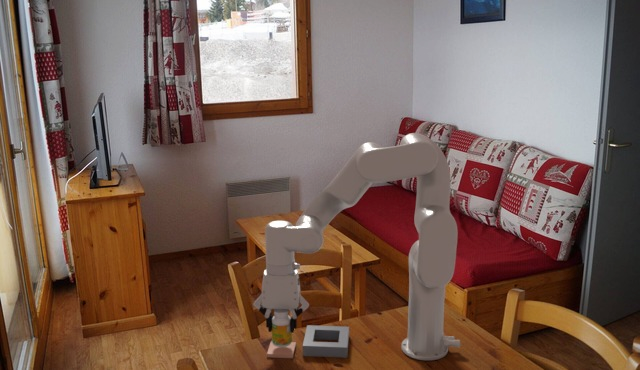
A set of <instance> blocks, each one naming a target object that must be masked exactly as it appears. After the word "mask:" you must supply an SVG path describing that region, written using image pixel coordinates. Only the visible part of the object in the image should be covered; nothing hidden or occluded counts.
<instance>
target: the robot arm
mask: <svg viewBox="0 0 640 370" xmlns="http://www.w3.org/2000/svg"><path fill="white" fill-rule="evenodd" d="M412 178H416V198H415V210H414V219H413V220H414V221H413V222H414V226H415V228H416V231H417V233H418V239H417V240H416V241H415V242H414V243H413V244H412V245H411V248H410V250H409V253H408V274H409V275H408V279H409V280H408V281H409V283H408V287H409V288H408V308H407V309H408V311H407V312H408V313H407V337H406V338H404V339H403V340H402V342H401V351H402V352H403V353H404V354H405V355H406V356H408V357H409V358H411V359H415V360H419V361H435V360H441V359H442V358H444V357H446V356H447V354H448V352H449V347H453V348H460V347H461V341H460V339H455V336H452V335H451V336H450V335H448V336H447V335H446V334H445V333H444V315H445V314H444V313H445V299H446V286H447V285H448V284H449V283H450V282H451V281H452V278H453V277H454V274H455V268H456V258H457V246H458V235H459V233H458V224H457V221H456V219H455V217H454V216H453V214H452V213H451V210H450V202H451V171H450V166H449V163H448V160H447V158H446V156H445V153H444V152H443V151H442V149H441V148H440V147H439V145H438V144H437V143H436V142H435V141H433V140H432V139H431V138H429V137H428V136H426V135H424V134H422V133H419V132H412V133H408V134H406V135H405V136H404V137H402V139H401V140H400V142H399V145H394V146H388V147H383V146H382V145H381V144H379V143H377V142H373V141H368V142H364V143H363V144H361V145H360V146H359V147H358V148H357V149H356V150H355V152H353V154H352V156H351V157H350V158H349V159H348V160H347V162H346V163H345V164H344V166H343V167H342V168H341V169H340V170H339V172H338V173H337V174H336V175H335V176H334V177H333V179H331V181H330V183H329V184H328V185H327V186H326V187H324V188H323V190H322V191H321V192H320V193H319V194H318V195H316V197H315V198H314V199H313V200H312V201H311V203H309V205H308V206H307V207H306V208H305V210H304V211H303V212H302V214H301V215H300V216H299V218H298V219H297V221H296V223H295V225H293V224H292V222H290V221H287V220H273V221H270V222H268V223H267V224H266V226H265V228H264V237H265V239H264V241H265V266H266V267H265V269H264V271H263V277H262V283H261V294H260V295H259V296H258V297H257V299H255V300H254V301H253V304H252V306H253V307H254V308H255V309H257V310H258V311H259V312H260V313H261V314H262V315H263V316H264V318H265V327H266V328H267V330H268V333H272V318H273V317H274V314H272V310H274V309H288V310H289V314H290V317H291V333H292V334H294V332H295V329H297V327H298V323H297V322H298V317H299V316H300V315H301V314H302V313H303V312H305V311H306V310H308V308H309V306H310V303H309V302H308V301H307V300H306V298H304V297H303V296H302V295H301V283H300V282H301V281H300V275H299V272H298V270H300V268H301V264H300V263H297V262H296V260H295V253H300V254H315V253H317V252H319V251H320V250H321V248H322V247H323V244H324V230H325V229H326V227H328V225H329V224H330V223H331V222H332V220H333V219H334V218H335V217H336V216H337V215H338V214H339V213H340V212H342V211H343V210H345V209H348V208H351V207H353V206H355V205H356V204H357V203H358V202H359V201H360V199H362V197H363V195H364V194H365V193H366V192H367V191H368V190H369V188H370V187H371V186H372V185H373V183H374V184H375V183H376V184H377V183H378V184H379V183H387V182H395V181H399V180H407V179H412ZM300 305H301V306H300Z"/></svg>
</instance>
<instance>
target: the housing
mask: <svg viewBox="0 0 640 370" xmlns="http://www.w3.org/2000/svg"><path fill="white" fill-rule="evenodd" d="M349 339H350V326H340V325H339V326H338V325H336V326H335V325H331V326H330V325H315V324H314V325H313V324H312V325H311V324H310V325H308V324H307V325H306V328H305V334H304V339H303V342H302V357H323V358H345V359H347V358H348V352H349ZM316 340H323V341H316ZM325 340H327V341H325ZM328 341H329V342H328ZM331 341H338V342H331Z"/></svg>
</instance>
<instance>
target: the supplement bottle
mask: <svg viewBox="0 0 640 370" xmlns="http://www.w3.org/2000/svg"><path fill="white" fill-rule="evenodd" d="M289 314H290V310H289V309H273V318H272V331H271V341H272V343H273V345H275V346H277V347H286V346H288V345H290V344H291V342H293V341H292V339H293V337H292V336H293V335H292V334H293V333H291V315H289Z"/></svg>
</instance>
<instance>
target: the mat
mask: <svg viewBox="0 0 640 370" xmlns="http://www.w3.org/2000/svg"><path fill="white" fill-rule="evenodd" d="M296 346H297V342H296V341H292V342H291V344H290V345H288V346H286V347H277V346H275V345H273V343H272V340H271V341H270V343H269V346H268V349H267V352H266V358H274V359H275V358H277V359H294V355H295V352H296V351H295V350H296Z"/></svg>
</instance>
